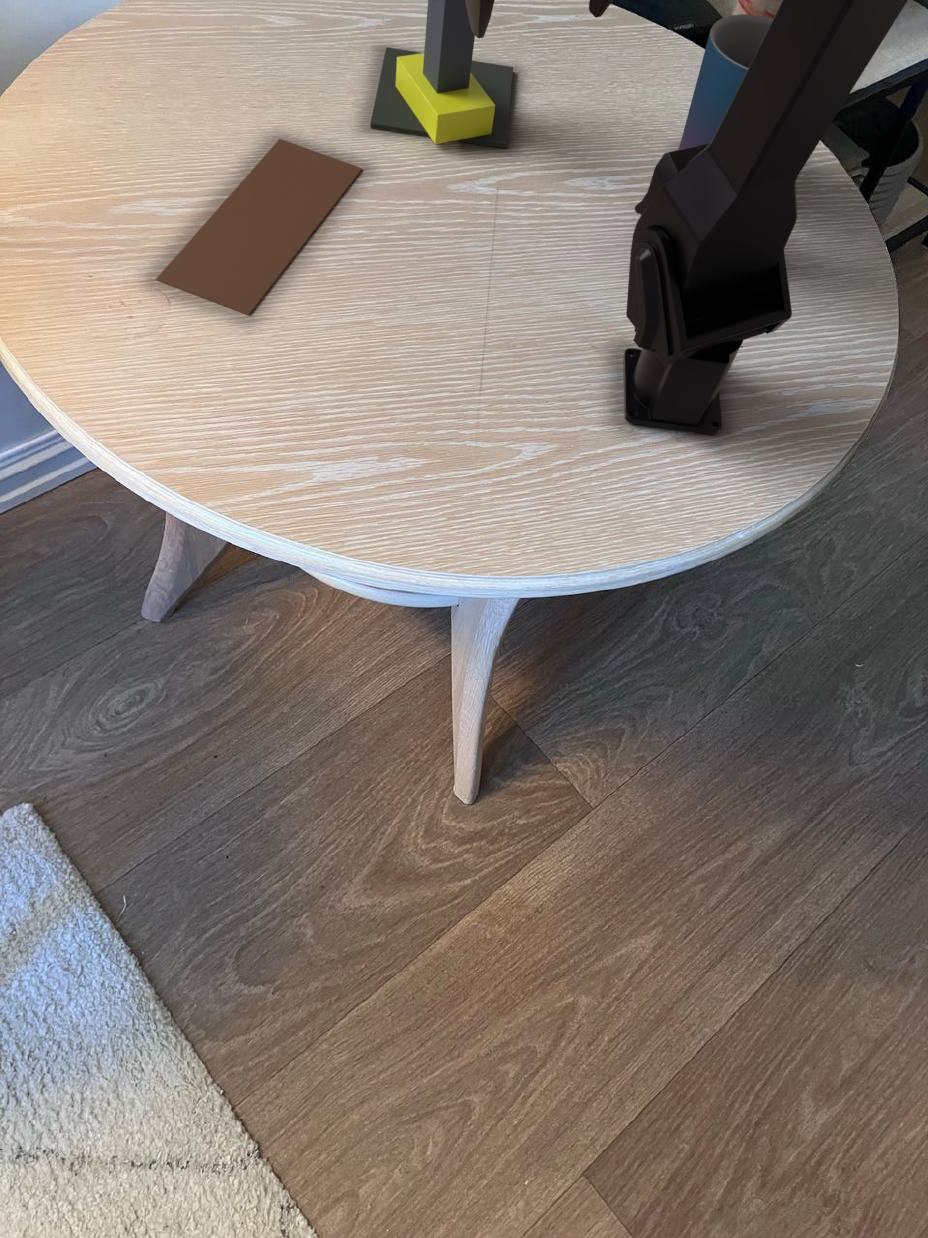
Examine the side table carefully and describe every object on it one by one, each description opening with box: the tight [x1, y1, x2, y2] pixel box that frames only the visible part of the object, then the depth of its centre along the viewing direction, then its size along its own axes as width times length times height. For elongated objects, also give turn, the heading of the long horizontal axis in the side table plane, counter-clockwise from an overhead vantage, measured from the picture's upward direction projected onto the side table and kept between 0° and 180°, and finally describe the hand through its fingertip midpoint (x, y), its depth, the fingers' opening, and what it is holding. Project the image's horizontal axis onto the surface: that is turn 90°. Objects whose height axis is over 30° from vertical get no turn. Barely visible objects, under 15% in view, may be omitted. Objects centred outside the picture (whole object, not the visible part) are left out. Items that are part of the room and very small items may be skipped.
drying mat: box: [369, 46, 514, 149], centre depth 77 cm, size 11×11×1 cm
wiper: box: [396, 0, 495, 145], centre depth 70 cm, size 5×8×14 cm, turn 25°
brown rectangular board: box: [155, 138, 363, 317], centre depth 67 cm, size 18×7×1 cm, turn 158°
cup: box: [678, 14, 773, 150], centre depth 65 cm, size 7×7×15 cm
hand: (537, 23), depth 63 cm, fingers open, 9 cm apart
